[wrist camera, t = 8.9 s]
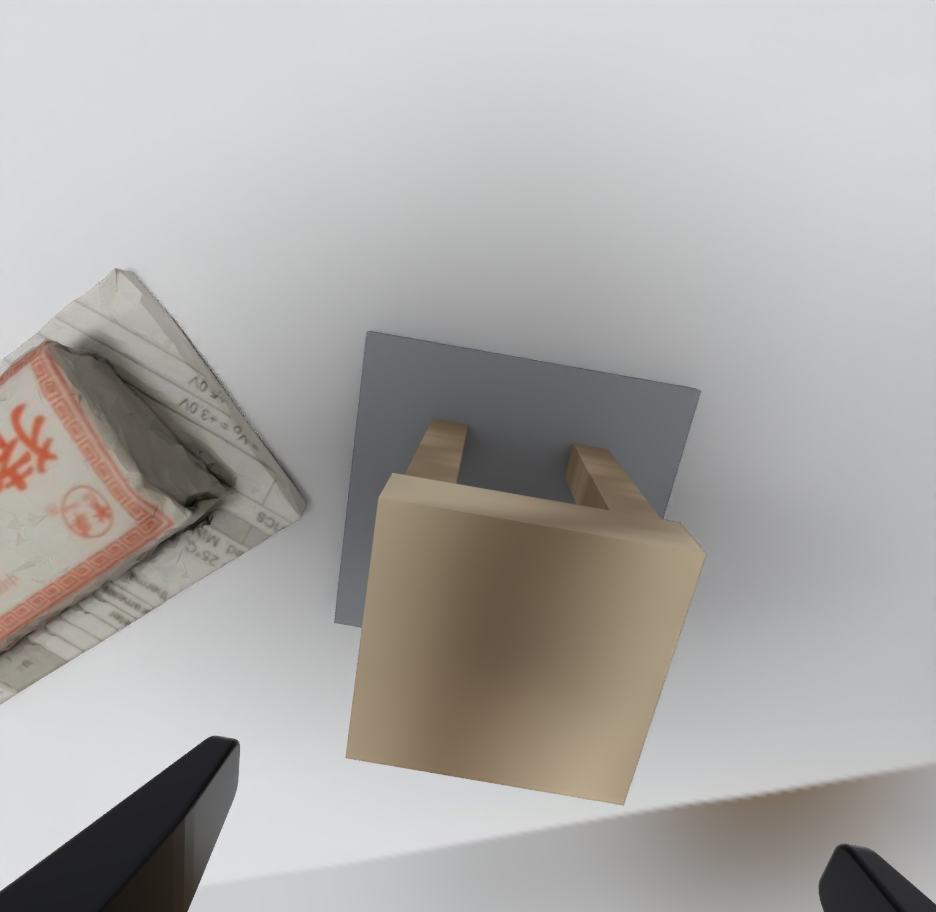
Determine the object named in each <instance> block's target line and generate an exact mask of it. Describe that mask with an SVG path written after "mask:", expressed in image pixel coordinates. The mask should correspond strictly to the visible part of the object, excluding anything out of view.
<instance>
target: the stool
mask: <svg viewBox="0 0 936 912" xmlns="http://www.w3.org/2000/svg"><path fill="white" fill-rule="evenodd" d="M467 426H468V425H464V424H459V423H453V422H447V421H441V420H436V419H432V421H431V423H430V425H429V427H428V429H427V431H426V433H425V435H424V437H423V439H422V441H421V443H420V445H419V447H418V449H417V451H416V453H415V455H414V457H413V459H412V461H411V463H410V465H409V467H408V469H407V471H406V473H405V475H402V474H396V473H392V475H391V477H390V478H389V480H388V482H387V484H386V485H385V487H384V489H383V490H382V492H381V494H380V496H379V498H378V506H377V513H376V521H375V529H374V537H373V545H372V553H371V561H370V569H369V577H368V584H367V592H366V600H365V608H364V616H363V624H362V632H361V640H360V648H359V655H358V663H357V671H356V679H355V687H354V695H353V703H352V711H351V719H350V727H349V734H348V742H347V750H346V758H349V759H354V760H360V761H366V762H372V763H378V764H384V765H390V766H395V767H401V768H407V769H413V770H419V771H425V772H431V773H436V774H442V775H448V776H454V777H460V778H466V779H472V780H477V781H483V782H489V783H495V784H501V785H507V786H513V787H518V788H524V789H530V790H536V791H542V792H548V793H554V794H559V795H565V796H571V797H577V798H583V799H589V800H595V801H601V802H606V803H612V804H618V805H624V803H625V800H626V797H627V794H628V791H629V788H630V785H631V782H632V779H633V776H634V773H635V770H636V767H637V764H638V761H639V758H640V755H641V752H642V749H643V745H644V742H645V739H646V736H647V733H648V730H649V727H650V724H651V721H652V718H653V715H654V712H655V709H656V706H657V703H658V700H659V697H660V694H661V691H662V688H663V685H664V682H665V679H666V675H667V672H668V669H669V666H670V663H671V660H672V657H673V654H674V651H675V648H676V645H677V642H678V639H679V636H680V633H681V630H682V627H683V624H684V621H685V618H686V615H687V612H688V608H689V605H690V602H691V599H692V596H693V593H694V590H695V587H696V584H697V581H698V578H699V575H700V572H701V569H702V566H703V563H704V560H705V557H706V553H705V552H704V551H703V549H702V548H701V547H700V546H699V545H698V543H697V542H696V541H695V540H694V539H693V537H692V536H691V535H690V534H689V533H688V531H687V530H686V529H685V528H684V527H683V525H682V524H681V523H679V522H674V521H668V520H662V519H661V518H660V517H659V516H658V515H657V513H656V512H655V511H654V509H653V508H652V507H651V505H650V504H649V503H648V501H647V500H646V499H645V497H644V496H643V495H642V494H641V492H640V491H639V490H638V488H637V487H636V486H635V484H634V483H633V482H632V480H631V479H630V478H629V476H628V475H627V474H626V472H625V471H624V470H623V469H622V467H621V466H620V465H619V463H618V462H617V461H616V459H615V458H614V457H613V455H612V454H611V453H610V451H609V450H608V449H603V448H597V447H591V446H585V445H580V444H574V443H573V445H572V449H571V454H570V458H569V462H568V467H567V471H566V475H565V477H566V480H567V482H568V485H569V487H570V490H571V492H572V495H573V497H574V500H575V502H576V505H575V504H570V503H564V502H558V501H552V500H546V499H541V498H535V497H529V496H523V495H518V494H512V493H506V492H500V491H494V490H489V489H483V488H477V487H471V486H466V485H460V484H457V481H458V476H459V471H460V466H461V461H462V455H463V449H464V443H465V438H466V432H467Z"/></svg>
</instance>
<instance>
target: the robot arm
mask: <svg viewBox="0 0 936 912" xmlns="http://www.w3.org/2000/svg"><path fill="white" fill-rule="evenodd" d="M239 758H240V744H239V741H238V740H236V739H233V738H227V737H221V736H211V737H209V738H207V739H205V740H204V741H203V742H201V743H200V744H199V745H197V746H196V747H195V748H193V749H192V750H191V751H189V752H188V753H187V754H185V755H184V756H183V757H181V758H180V759H178V760H177V761H176V762H174V763H173V764H172V765H170V766H169V767H168V768H166V769H165V770H164V771H162V772H161V773H160V774H158V775H157V776H156V777H154V778H153V779H151V780H150V781H149V782H147V783H146V784H145V785H143V786H142V787H141V788H139V789H138V790H137V791H135V792H134V793H133V794H131V795H130V796H128V797H127V798H126V799H124V800H123V801H122V802H120V803H119V804H118V805H116V806H115V807H114V808H112V809H111V810H110V811H108V812H107V813H106V814H104V815H103V816H101V817H100V818H99V819H97V820H96V821H95V822H93V823H92V824H91V825H89V826H88V827H87V828H85V829H84V830H83V831H81V832H80V833H79V834H77V835H76V836H74V837H73V838H72V839H70V840H69V841H68V842H66V843H65V844H64V845H62V846H61V847H60V848H58V849H57V850H56V851H54V852H53V853H51V854H50V855H49V856H47V857H46V858H45V859H43V860H42V861H41V862H39V863H38V864H37V865H35V866H34V867H33V868H31V869H30V870H29V871H27V872H26V873H24V874H23V875H22V876H20V877H19V878H18V879H16V880H15V881H14V882H12V883H11V884H10V885H8V886H7V887H6V888H4V889H3V890H2V891H0V912H187V911H188V909H189V906H190V904H191V902H192V900H193V897H194V895H195V892H196V890H197V887H198V885H199V883H200V880H201V878H202V875H203V873H204V870H205V868H206V865H207V863H208V861H209V858H210V856H211V853H212V851H213V848H214V846H215V844H216V841H217V839H218V836H219V834H220V831H221V829H222V827H223V824H224V822H225V819H226V817H227V814H228V812H229V809H230V807H231V805H232V802H233V800H234V797H235V794H236V790H237V786H238V776H239ZM819 896H820V901H821V905H822V907H823V910H824V912H936V904H935V903H933V902H932V901H931V900H930V899H929V898H928V897H927V896H925V895H924V894H923V893H922V892H921V891H920V890H918V889H917V888H916V887H915V886H914V885H913V884H911V883H910V882H909V881H908V880H907V879H906V878H905V877H903V876H902V875H901V874H900V873H899V872H897V870H895V869H894V868H893V867H892V866H891V865H889V864H888V863H887V862H886V861H885V860H884V859H883V858H881V857H880V856H879V855H878V854H877V853H875V852H874V851H872V850H871V849H869V848H866V847H861V846H856V845H850V844H840V845H838V846H837V847H836V848H835V850H834V852H833V854H832V856H831V858H830V860H829V862H828V864H827V866H826V868H825V870H824V872H823V874H822V876H821V878H820V881H819Z"/></svg>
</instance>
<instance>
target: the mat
mask: <svg viewBox="0 0 936 912" xmlns="http://www.w3.org/2000/svg"><path fill="white" fill-rule="evenodd" d="M700 393H701V391H700V390H697V389H695V388H689V387H684V386H678V385H672V384H667V383H661V382H655V381H650V380H644V379H638V378H633V377H627V376H621V375H616V374H610V373H604V372H599V371H593V370H587V369H582V368H576V367H570V366H565V365H559V364H553V363H548V362H542V361H536V360H531V359H525V358H519V357H514V356H508V355H502V354H497V353H491V352H485V351H480V350H474V349H468V348H463V347H457V346H451V345H446V344H440V343H434V342H429V341H423V340H417V339H412V338H406V337H400V336H395V335H389V334H383V333H378V332H372V331H369V332H367V333H366V342H365V351H364V360H363V369H362V378H361V387H360V396H359V405H358V414H357V423H356V432H355V441H354V450H353V459H352V468H351V477H350V486H349V495H348V504H347V513H346V521H345V530H344V539H343V548H342V557H341V566H340V575H339V584H338V593H337V602H336V611H335V620H334V623H339V624H345V625H350V626H356V627H362V624H363V616H364V608H365V600H366V592H367V584H368V577H369V569H370V561H371V553H372V545H373V537H374V529H375V521H376V513H377V506H378V498H379V496H380V494H381V492H382V490H383V489H384V487H385V485H386V484H387V482H388V480H389V478H390V477H391V475H392V473H396V474H402V475H405V473H406V471H407V469H408V467H409V465H410V463H411V461H412V459H413V457H414V455H415V453H416V451H417V449H418V447H419V445H420V443H421V441H422V439H423V437H424V435H425V433H426V431H427V429H428V427H429V425H430V423H431V421H432V419H436V420H441V421H447V422H453V423H459V424H464V425H468V426H467V432H466V438H465V443H464V449H463V455H462V461H461V466H460V471H459V476H458V481H457V484H460V485H466V486H471V487H477V488H483V489H489V490H494V491H500V492H506V493H512V494H518V495H523V496H529V497H535V498H541V499H546V500H552V501H558V502H564V503H570V504H575V505H576V502H575V500H574V497H573V495H572V492H571V490H570V487H569V485H568V482H567V480H566V477H565V475H566V471H567V467H568V462H569V458H570V454H571V449H572V445H573V443H574V444H580V445H585V446H591V447H597V448H603V449H608V450H609V451H610V453H611V454H612V455H613V457H614V458H615V459H616V461H617V462H618V463H619V465H620V466H621V467H622V469H623V470H624V471H625V472H626V474H627V475H628V476H629V478H630V479H631V480H632V482H633V483H634V484H635V486H636V487H637V488H638V490H639V491H640V492H641V494H642V495H643V496H644V497H645V499H646V500H647V501H648V503H649V504H650V505H651V507H652V508H653V509H654V511H655V512H656V513H657V515H658V516H659V517H660V518H661V519H662V520H663V517H664V514H665V510H666V507H667V504H668V500H669V497H670V494H671V490H672V487H673V483H674V480H675V477H676V473H677V470H678V467H679V463H680V460H681V457H682V453H683V450H684V447H685V443H686V440H687V437H688V433H689V430H690V427H691V423H692V420H693V416H694V413H695V410H696V406H697V403H698V400H699V396H700Z"/></svg>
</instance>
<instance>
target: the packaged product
mask: <svg viewBox="0 0 936 912" xmlns="http://www.w3.org/2000/svg"><path fill="white" fill-rule="evenodd" d="M305 507H306V502H305V501H304V499H303V497H302V496H301V494H300V493H299V491H298V490H297V489H296V487H295V486H294V484H293V483H292V482H291V480H290V479H289V478H288V476H287V475H286V474H285V472H284V471H283V470H282V468H281V467H280V465H279V464H278V463H277V461H276V460H275V459H274V457H273V456H272V455H271V453H270V452H269V451H268V449H267V448H266V446H265V445H264V444H263V442H262V441H261V440H260V438H259V437H258V436H257V434H256V433H255V432H254V430H253V429H252V428H251V426H250V425H249V424H248V422H247V421H246V419H245V418H244V417H243V415H242V414H241V412H240V411H239V409H238V408H237V407H236V405H235V404H234V403H233V401H232V400H231V398H230V397H229V396H228V394H227V393H226V392H225V390H224V389H223V387H222V386H221V385H220V383H219V382H218V381H217V379H216V378H215V376H214V375H213V374H212V372H211V371H210V370H209V368H208V367H207V365H206V364H205V363H204V361H203V360H202V359H201V357H200V356H199V354H198V353H197V352H196V350H195V349H194V348H193V346H192V345H191V344H190V342H189V341H188V339H187V338H186V337H185V335H184V334H183V333H182V331H181V330H180V328H179V327H178V326H177V324H176V323H175V322H174V321H173V319H172V318H171V317H170V315H169V314H168V313H167V312H166V310H165V309H164V308H163V307H162V305H161V304H160V303H159V302H158V301H157V300H156V299H155V298H154V296H153V295H152V294H151V293H150V292H149V291H148V290H147V289H146V287H145V286H144V285H143V284H142V283H141V282H140V281H139V280H138V278H137V277H136V276H135V275H134V274H133V273H131V272H127V271H124V270H120V269H117V268H115V269H114V270H113V271H112V272H111V273H110V274H109V275H108V276H107V277H106V278H105V279H103V280H102V281H101V282H100V283H98V284H97V285H96V286H95V287H93V288H92V289H91V290H90V291H88V292H87V293H86V294H85V295H83V296H82V297H80V298H78V299H76V300H74V301H72V302H71V303H70V304H69V305H68V306H67V307H65V308H64V309H63V310H62V311H61V312H60V313H58V314H57V315H56V316H55V317H54V318H52V319H51V320H50V321H49V322H48V323H47V324H46V325H45V326H44V327H43V328H42V329H41V330H40V331H39V332H38V333H36V334H35V335H34V336H33V337H31V338H30V339H29V340H27V341H26V342H25V343H24V344H22V345H21V346H20V347H19V348H17V349H16V350H15V351H13V352H12V353H11V354H10V355H8V356H7V357H5V358H4V359H3V360H1V361H0V704H2V703H3V702H5V701H6V700H8V699H9V698H11V697H13V696H14V695H16V694H17V693H19V692H20V691H22V690H23V689H25V688H27V687H28V686H30V685H32V684H33V683H35V682H36V681H38V680H40V679H41V678H43V677H44V676H46V675H48V674H49V673H51V672H53V671H54V670H56V669H57V668H59V667H61V666H62V665H64V664H66V663H67V662H69V661H70V660H72V659H74V658H75V657H77V656H79V655H80V654H82V653H84V652H85V651H87V650H89V649H90V648H92V647H94V646H95V645H97V644H99V643H100V642H102V641H103V640H105V639H107V638H108V637H110V636H112V635H113V634H115V633H116V632H118V631H119V630H121V629H123V628H124V627H126V626H127V625H129V624H131V623H132V622H134V621H135V620H137V619H139V618H140V617H142V616H143V615H145V614H147V613H148V612H150V611H151V610H153V609H155V608H156V607H158V606H159V605H161V604H162V603H164V602H165V601H167V600H168V599H170V598H171V597H173V596H174V595H176V594H177V593H179V592H181V591H182V590H184V589H186V588H187V587H189V586H191V585H192V584H194V583H196V582H197V581H199V580H201V579H202V578H204V577H206V576H207V575H209V574H210V573H212V572H214V571H215V570H217V569H219V568H220V567H222V566H223V565H225V564H227V563H228V562H230V561H231V560H233V559H235V558H237V557H238V556H240V555H242V554H243V553H245V552H246V551H248V550H249V549H251V548H253V547H254V546H256V545H258V544H260V543H261V542H263V541H264V540H266V539H267V538H269V537H270V536H272V535H273V534H275V533H277V532H278V531H280V530H282V529H283V528H285V527H287V526H288V525H290V524H292V523H293V522H295V521H297V520H298V519H299V518H301V516H302V514H303V512H304V509H305Z"/></svg>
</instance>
